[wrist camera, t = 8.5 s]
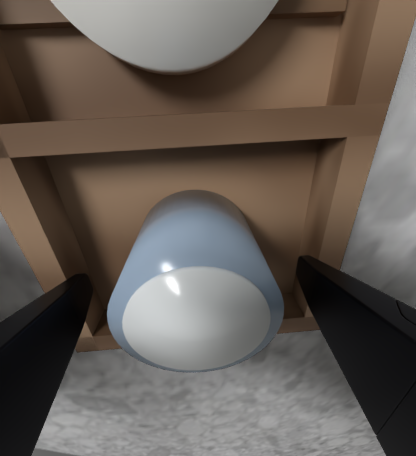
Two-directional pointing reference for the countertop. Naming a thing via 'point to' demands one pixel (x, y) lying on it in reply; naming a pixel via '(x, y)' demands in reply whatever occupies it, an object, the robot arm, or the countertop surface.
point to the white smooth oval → (168, 30)
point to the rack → (193, 140)
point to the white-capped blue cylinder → (195, 288)
